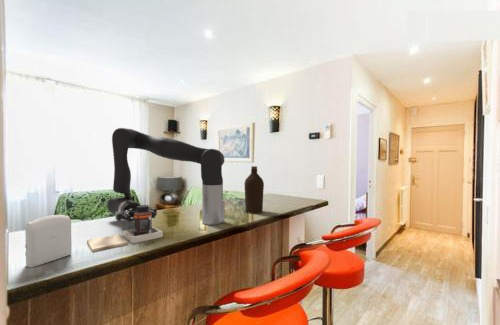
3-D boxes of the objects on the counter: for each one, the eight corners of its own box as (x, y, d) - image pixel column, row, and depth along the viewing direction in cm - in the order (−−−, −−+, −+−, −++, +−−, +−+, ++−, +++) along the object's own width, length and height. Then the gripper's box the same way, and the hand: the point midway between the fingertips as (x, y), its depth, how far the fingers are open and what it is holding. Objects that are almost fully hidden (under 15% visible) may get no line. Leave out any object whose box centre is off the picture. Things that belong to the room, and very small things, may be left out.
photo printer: (30, 269, 62) (30, 220, 62) (22, 266, 64) (22, 219, 63) (74, 254, 71) (74, 213, 71) (65, 252, 73) (65, 211, 73)
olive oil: (252, 214, 125) (253, 166, 125) (240, 211, 134) (240, 166, 133) (267, 212, 132) (267, 166, 132) (255, 209, 140) (255, 166, 140)
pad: (119, 236, 88) (119, 234, 88) (127, 244, 80) (127, 242, 80) (86, 242, 82) (86, 240, 82) (92, 251, 74) (92, 249, 74)
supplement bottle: (155, 236, 89) (155, 205, 89) (139, 240, 84) (140, 208, 84) (145, 233, 93) (145, 203, 93) (130, 237, 88) (130, 206, 88)
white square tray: (152, 230, 96) (152, 225, 96) (162, 237, 88) (162, 231, 88) (123, 235, 89) (123, 230, 89) (131, 243, 81) (131, 237, 81)
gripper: (110, 203, 97) (121, 209, 85) (147, 199, 106) (161, 204, 94) (110, 221, 97) (120, 230, 85) (147, 216, 106) (161, 223, 94)
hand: (142, 217), depth 89 cm, fingers open, 8 cm apart
